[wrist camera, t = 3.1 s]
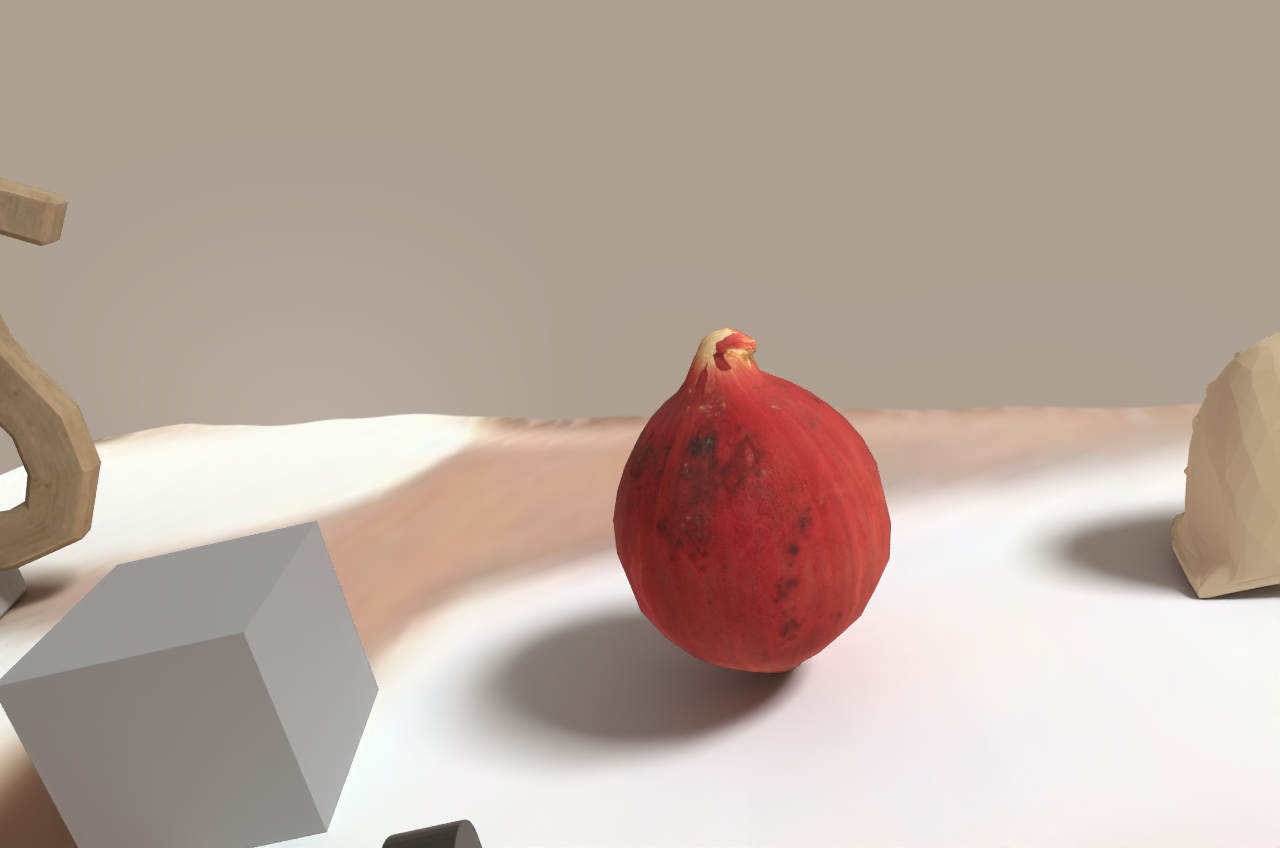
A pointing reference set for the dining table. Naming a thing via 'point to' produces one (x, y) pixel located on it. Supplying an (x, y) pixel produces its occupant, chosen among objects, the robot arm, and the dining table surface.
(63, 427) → the tankard
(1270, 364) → the decorative ornament
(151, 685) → the grey block
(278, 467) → the dining table surface
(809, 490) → the red squash
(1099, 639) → the dining table surface
